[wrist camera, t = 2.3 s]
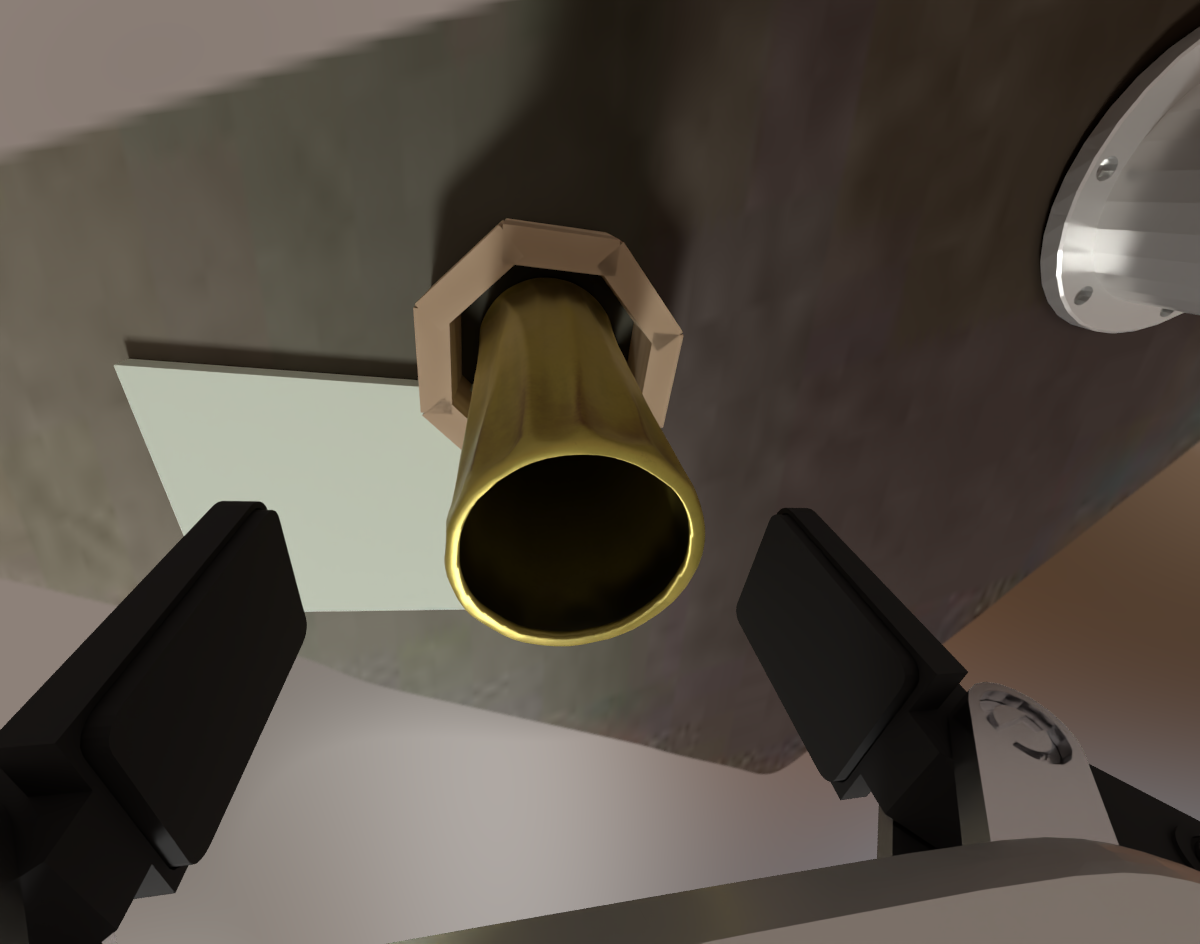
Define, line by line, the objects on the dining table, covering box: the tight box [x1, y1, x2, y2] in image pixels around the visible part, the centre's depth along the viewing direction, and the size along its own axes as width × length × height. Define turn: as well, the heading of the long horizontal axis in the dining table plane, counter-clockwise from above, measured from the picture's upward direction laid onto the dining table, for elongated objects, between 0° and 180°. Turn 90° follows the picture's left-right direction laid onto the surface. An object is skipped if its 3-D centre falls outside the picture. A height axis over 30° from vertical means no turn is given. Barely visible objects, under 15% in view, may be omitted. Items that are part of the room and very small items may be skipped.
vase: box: [444, 277, 705, 646], centre depth 15 cm, size 6×6×14 cm
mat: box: [114, 359, 473, 612], centre depth 23 cm, size 14×14×1 cm
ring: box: [413, 218, 683, 450], centre depth 20 cm, size 10×10×4 cm
